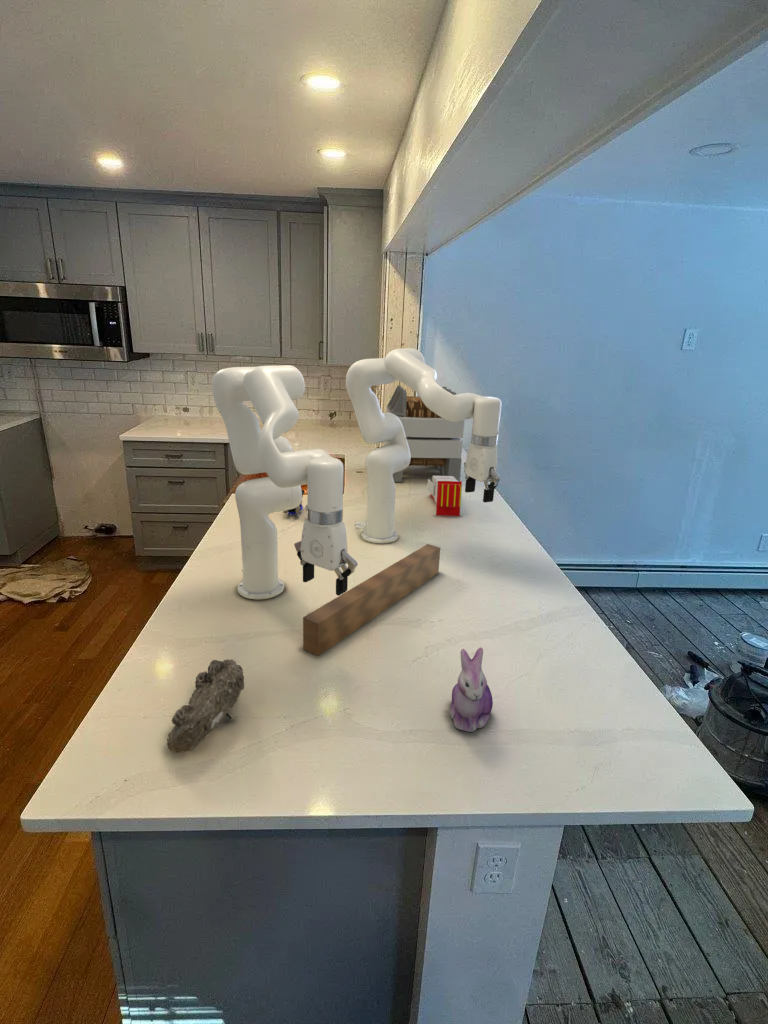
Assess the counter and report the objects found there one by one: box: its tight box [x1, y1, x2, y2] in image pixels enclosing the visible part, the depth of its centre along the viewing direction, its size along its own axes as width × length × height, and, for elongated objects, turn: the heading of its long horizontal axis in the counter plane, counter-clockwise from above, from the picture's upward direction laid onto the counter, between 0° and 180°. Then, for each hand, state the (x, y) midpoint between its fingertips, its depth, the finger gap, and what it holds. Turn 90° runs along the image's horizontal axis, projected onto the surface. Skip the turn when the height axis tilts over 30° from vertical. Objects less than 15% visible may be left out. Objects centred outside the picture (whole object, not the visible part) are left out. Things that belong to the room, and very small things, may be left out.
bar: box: [302, 543, 441, 657], centre depth 150 cm, size 55×4×8 cm, turn 145°
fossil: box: [166, 658, 245, 754], centre depth 106 cm, size 22×10×15 cm
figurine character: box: [282, 489, 305, 518], centre depth 214 cm, size 7×8×15 cm
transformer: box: [385, 384, 465, 483], centre depth 268 cm, size 34×33×41 cm
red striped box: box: [426, 475, 463, 517], centre depth 230 cm, size 12×13×30 cm
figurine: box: [449, 647, 494, 733], centre depth 108 cm, size 9×10×15 cm
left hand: (324, 586), depth 127 cm, fingers open, 9 cm apart
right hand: (478, 496), depth 169 cm, fingers open, 9 cm apart
